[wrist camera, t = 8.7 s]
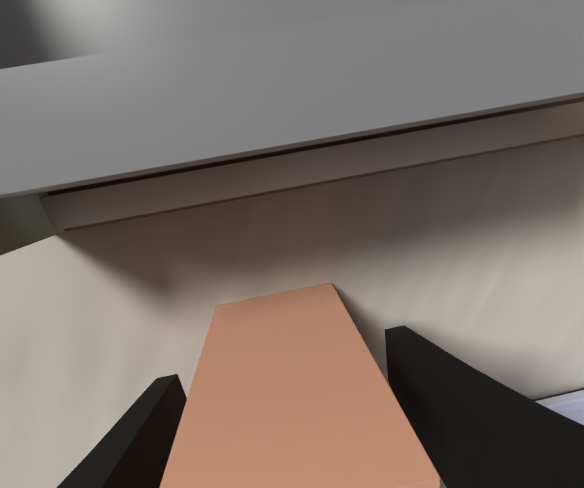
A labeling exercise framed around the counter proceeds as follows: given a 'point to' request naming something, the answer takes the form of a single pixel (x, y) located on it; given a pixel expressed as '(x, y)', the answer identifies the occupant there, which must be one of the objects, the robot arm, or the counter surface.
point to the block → (292, 404)
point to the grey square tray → (258, 77)
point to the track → (282, 171)
